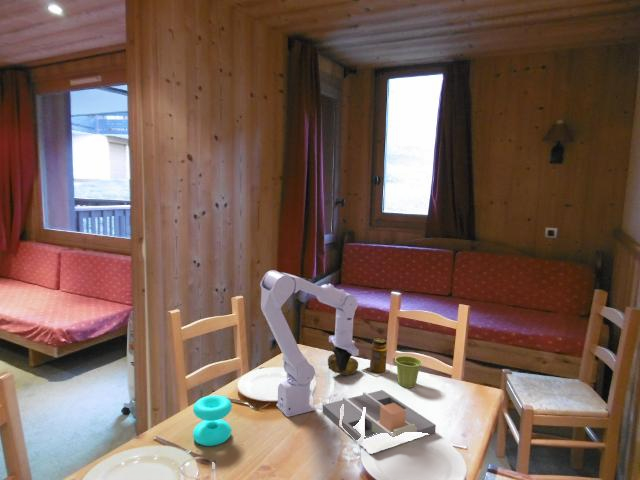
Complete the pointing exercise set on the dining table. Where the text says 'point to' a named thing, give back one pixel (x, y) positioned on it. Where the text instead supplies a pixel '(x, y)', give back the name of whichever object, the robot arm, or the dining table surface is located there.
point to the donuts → (212, 420)
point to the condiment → (377, 358)
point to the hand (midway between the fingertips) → (341, 369)
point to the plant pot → (407, 370)
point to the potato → (350, 367)
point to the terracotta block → (392, 416)
